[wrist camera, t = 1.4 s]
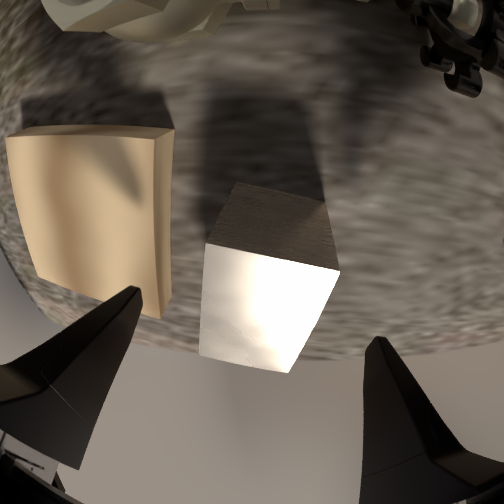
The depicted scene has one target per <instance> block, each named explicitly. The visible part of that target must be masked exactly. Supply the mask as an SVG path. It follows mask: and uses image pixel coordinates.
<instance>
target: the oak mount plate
mask: <svg viewBox="0 0 504 504" xmlns="http://www.w3.org/2000/svg"><path fill="white" fill-rule="evenodd" d="M174 131H175V129H168V128H157V127H144V126H126V125H53V126H36V127H28V128H26V129H23V130H21V131H19V132H16V133H14V134H12V135H10V136H8V137H6V148H7V156H8V164H9V170H10V176H11V182H12V187H13V192H14V197H15V201H16V206H17V210H18V214H19V218H20V222H21V225H22V229H23V232H24V236H25V239H26V242H27V245H28V249H29V252H30V255H31V257H32V260H33V263H34V266H35V269H36V271H37V274H38V276H39V277H40V278H43V279H45V280H48V281H50V282H53V283H55V284H58V285H60V286H63V287H65V288H68V289H70V290H73V291H76V292H78V293H81V294H84V295H87V296H89V297H92V298H95V299H98V300H101V301H104V302H105V301H107V300H108V299H110V298H111V297H113V296H114V295H116V294H117V293H119V292H120V291H122V290H123V289H125V288H126V287H128V286H130V285H133V286H136V287H139V288H140V289H141V292H142V299H143V307H142V311H141V314H145V315H148V316H151V317H155V318H158V319H161V317H162V315H163V313H164V311H165V309H166V307H167V304H168V302H169V300H170V298H171V296H172V290H171V257H170V212H171V179H172V159H173V144H174Z"/></svg>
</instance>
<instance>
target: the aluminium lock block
mask: <svg viewBox="0 0 504 504" xmlns="http://www.w3.org/2000/svg"><path fill="white" fill-rule="evenodd" d="M339 273H340V269H339V264H338V259H337V253H336V248H335V244H334V239H333V234H332V230H331V225H330V221H329V216H328V212H327V208H326V203H325V201H321V200H317V199H313V198H309V197H305V196H300V195H296V194H292V193H287V192H283V191H279V190H274V189H269V188H265V187H260V186H255V185H250V184H245V183H240V182H236V183H235V185H234V187H233V189H232V191H231V193H230V195H229V197H228V199H227V201H226V203H225V205H224V207H223V209H222V211H221V213H220V215H219V217H218V219H217V221H216V223H215V225H214V227H213V229H212V231H211V233H210V235H209V237H208V239H207V241H206V245H205V257H204V270H203V285H202V301H201V319H200V340H199V355H201V356H205V357H209V358H213V359H218V360H222V361H227V362H231V363H236V364H241V365H246V366H251V367H256V368H261V369H267V370H273V371H279V372H285V373H288V372H289V370H290V368H291V367H292V365H293V363H294V362H295V360H296V358H297V356H298V354H299V353H300V351H301V349H302V347H303V345H304V343H305V342H306V340H307V338H308V336H309V334H310V332H311V330H312V328H313V326H314V324H315V323H316V321H317V319H318V317H319V315H320V313H321V311H322V309H323V307H324V305H325V303H326V301H327V299H328V296H329V294H330V292H331V290H332V288H333V286H334V284H335V282H336V280H337V277H338V275H339Z"/></svg>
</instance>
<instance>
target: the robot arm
mask: <svg viewBox="0 0 504 504" xmlns="http://www.w3.org/2000/svg"><path fill="white" fill-rule="evenodd" d="M142 307H143V299H142V292H141V289H140V288H139V287H136V286H133V285H130V286H128V287H126V288H125V289H123V290H122V291H120V292H119V293H117V294H116V295H114V296H113V297H111V298H110V299H108V300H107V301H105V302H103V303H102V304H100V305H99V306H97V307H96V308H94V309H93V310H92V311H90V312H89V313H87V314H86V315H84V316H83V317H81V318H80V319H78V320H77V321H75V322H74V323H72V324H71V325H69V326H68V327H67V328H65V329H64V330H62V331H61V332H60V333H58V334H56V335H55V336H54V337H52V338H51V339H49V340H48V341H46V342H45V343H43V344H41V345H40V346H38V347H36V348H35V349H33V350H31V351H30V352H28V353H26V354H24V355H22V356H21V357H19V358H17V359H15V360H14V361H12V362H10V363H7V364H4V365H0V504H83V503H81V502H79V501H78V500H76V499H74V498H72V497H70V496H69V495H67V494H65V489H64V487H63V485H62V482H61V480H60V478H59V476H58V474H57V471H56V470H57V467H58V464H59V462H60V463H62V464H65V465H67V466H69V467H72V468H74V469H76V470H79V469H80V466H81V463H82V460H83V457H84V454H85V451H86V448H87V446H88V443H89V440H90V437H91V435H92V432H93V428H94V426H95V424H96V421H97V419H98V416H99V414H100V411H101V409H102V406H103V403H104V401H105V399H106V396H107V394H108V391H109V389H110V387H111V385H112V382H113V380H114V378H115V375H116V373H117V371H118V369H119V366H120V364H121V362H122V360H123V357H124V355H125V353H126V351H127V349H128V347H129V344H130V342H131V339H132V337H133V334H134V331H135V328H136V325H137V322H138V319H139V316H140V313H141V311H142ZM363 403H364V404H363V407H364V429H363V434H364V435H363V460H362V476H361V477H362V478H361V487H360V488H361V489H360V498H359V504H504V462H499V461H496V460H492V459H489V458H486V457H483V456H481V455H478V454H475V453H472V452H470V451H468V450H466V449H465V448H464V447H463V446H462V445H461V444H460V443H459V442H458V440H457V439H456V437H455V436H454V435H453V434H452V432H451V431H450V429H449V428H448V427H447V425H446V424H445V423H444V421H443V420H442V419H441V417H440V416H439V414H438V413H437V411H436V410H435V408H434V407H433V405H432V403H430V400H429V399H428V398H427V396H426V394H425V393H424V391H423V390H422V388H421V387H420V385H419V384H418V382H417V381H416V379H415V378H414V377H413V375H412V374H411V372H410V371H409V369H408V368H407V366H406V365H405V363H404V362H403V361H402V359H401V358H400V356H399V355H398V353H397V352H396V351H395V349H394V348H393V346H392V345H391V344H390V342H389V341H388V339H387V338H386V337H381V336H376V337H375V338H374V339H373V340H372V342H371V343H370V344H369V346H368V347H367V349H366V351H365V366H364V381H363Z"/></svg>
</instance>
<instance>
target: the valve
mask: <svg viewBox="0 0 504 504" xmlns="http://www.w3.org/2000/svg"><path fill="white" fill-rule="evenodd" d="M41 1H42V4H43V6H44V8H45V10H46V12H47V13H48V14H49V16H50V17H51V18H52V20H53V21H54V22H55V23H56V24H57V25H58V26H59V27H60V28H61V29H62V30H63V31H82V32H99V33H100V32H103V31H105V32H106V33H108V34H110V35H112V36H114V37H116V38H119V39H122V40H125V41H130V42H138V43H149V42H158V41H163V42H167V43H171V42H177V41H182V40H187V39H193V38H199V37H206V36H213V35H214V34H215V33H216V31H217V30H218V28H219V26H220V25H221V23H222V21H223V20H224V18H225V16H226V15H227V13H228V11H229V10H230V8H231V7H232V5H233V4H234V2H242V4H243V6H244V8H245V9H246V10H248V11H249V10H276V9H281V0H41ZM358 1H364V2H368V1H370V0H358ZM395 2H396V4H397V6H398V7H399V9H400V10H401V11H403V12H406V13H409V14H411V21H412V23H413V24H414V25H417V26H420V27H423V28H426V29H429V31H430V34H431V37H432V40H433V42H434V45H433V46H432V48H431V47H428V46H425V45H422V46H421V49H420V58H421V62H422V64H423V65H424V66H425V67H428V68H432V69H435V70H438V71H441V72H444V80H445V84H446V86H447V87H448V89H450V90H451V91H454V92H457V93H460V94H463V95H466V96H468V97H471V98H475V97H477V96H478V95H479V94H480V92H481V90H482V77H481V74H480V72H479V71H480V67H482V68H483V69H484V70H486V71H488V72H490V73H492V74H494V75H496V76H498V77H500V78H502V79H504V0H482V3H483V14H482V20H481V24H480V27H479V29H478V31H477V33H476V34H475V36H472V35H470V34H468V33H465V32H463V31H461V30H459V29H468V28H472V27H473V26H474V24H475V22H476V20H477V16H478V4H477V1H476V0H395ZM453 62H454V64H455V73H454V75H452V74H448V73H447V72H449V71H450V70H451V68H452V66H453Z"/></svg>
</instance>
